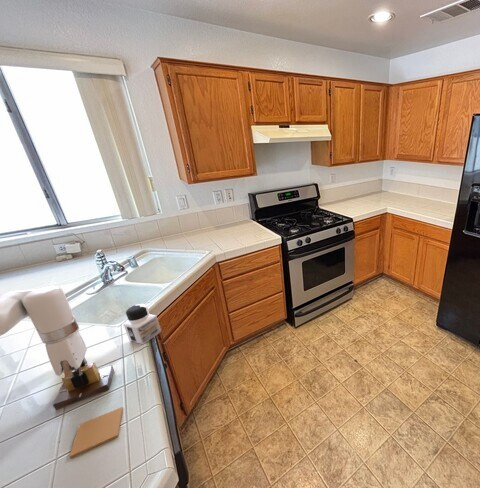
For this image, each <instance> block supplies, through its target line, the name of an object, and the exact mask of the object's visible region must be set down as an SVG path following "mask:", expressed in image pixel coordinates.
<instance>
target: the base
mask: <svg viewBox="0 0 480 488" xmlns="http://www.w3.org/2000/svg"><path fill="white" fill-rule="evenodd" d="M98 371H99V373H100V378H99V381H97V382H94V383H91V384H88V385H85V386H83V387H80V388H77V389H74V390H72V391H69V392H68V390H67V388H66V386H65V384H64V382H63V381H62V384H61V386H60V388H59V391H58V392H57V394H56V397H55V399H54V401H53V402H52V406H53V408H54V410H55V411H57V410H59V409H62V408H65V407H68V406H70V405H72V404H75V403H77V402H80V401H83V400H86V399H88V398H91V397H94V396H97V395H99V394H102V393H105V392H107V391H109V390H110V388H111V384H112V380H113V376H114V373H115V369H114V366H113V365H109V366H105V367H103V368H101V369H100V368H99V369H98Z"/></svg>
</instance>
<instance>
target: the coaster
mask: <svg viewBox="0 0 480 488" xmlns="http://www.w3.org/2000/svg"><path fill="white" fill-rule="evenodd" d="M123 410H124V408H123V406H121V407H118V408H116V409H114V410H111V411H108V412H106V413H104V414H102V415H99V416H96V417H95V418H91V419H90V420H86V421H84V422H82V423H80V424H79V426H78V429H77V431H76V435H75V438H74V441H73V443H72V448H71V451H70V453H69V458H70V459H72V458H74V457H76V456H79V455H80V454H83V453H86V452H88V451H90V450H91V449H94V448H97V447H98V446H101V445H103V444H105V443H107V442H109V441H112V440H115V439H117V438H118V437H119V433H120V427H121V421H122V415H123Z"/></svg>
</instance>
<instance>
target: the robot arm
mask: <svg viewBox="0 0 480 488" xmlns="http://www.w3.org/2000/svg"><path fill="white" fill-rule="evenodd" d="M28 317H29V319H30V320H31V323H32V326H34V329H35V330H36V332H37V334H38V336H39V338H40V340H41V343H42V344H45V345H44V346H45V350H46V354H47V358H48V360H49V363H50V365H51V367H52V369H53V372H54V374H55V375H56V376H61V375H63V374H64V375H65V379H66V380H67V379H70V380H71V382H72V384H73V386H74V388H79V387H82V386H84V385H87V384H89V380H88V378H87V376H86V374H85V372H83V371H82V369H81V367H83V366H86V365H89V363H88V361H87V359H86V357H85V356H86V353H87V346H86V343H85V341H84V338H83V336H82V334H81V333H80V326H79V324H78V321H77V319H76V317H75V314H74V312H73V310H72V308H71V306H70V303H69V301H68V299H67V296H66V295H65V292H64V290H63V289H62V288H61V287H60V286H57V285H50V286H49V285H48V286H44V287H40V288H36V289H25V290H24V289H23V290H22V289H21V290H11V291H7V292H4V293H2V294H0V337H1V336H3V335H5V334H6V333H8V332H10V331H11V330H12V329H13V328H14V327H15V326H17V325H18V324H19V323H21V321H23V320H24V319H26V318H28ZM75 369H77V371H74V372H72V370H75Z"/></svg>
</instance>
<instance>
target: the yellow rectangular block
mask: <svg viewBox="0 0 480 488" xmlns="http://www.w3.org/2000/svg"><path fill="white" fill-rule="evenodd" d="M81 369H82V371H83V372H85V374H86V376H87V378H88V380H89V384H91V383H94V382H97V381H99V378H100V373H99V371H98V370H99V369H98V366H97V365H96V363H95V362H91V363H88V365H87V364H86V366H83V367H81ZM74 371H77V369H75V370H72V372H74ZM61 381H62V383H63V382H64V384H65V386H66V388H67V390H68V392H69V391H72V390H74V389H77V388H74V386H73V384H72V382H71V380H70V379H67V380H66V379H65V375H64V373H62V377H61ZM87 385H88V384H87ZM84 386H85V385H84ZM82 387H83V386H82ZM79 388H80V387H79Z"/></svg>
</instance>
